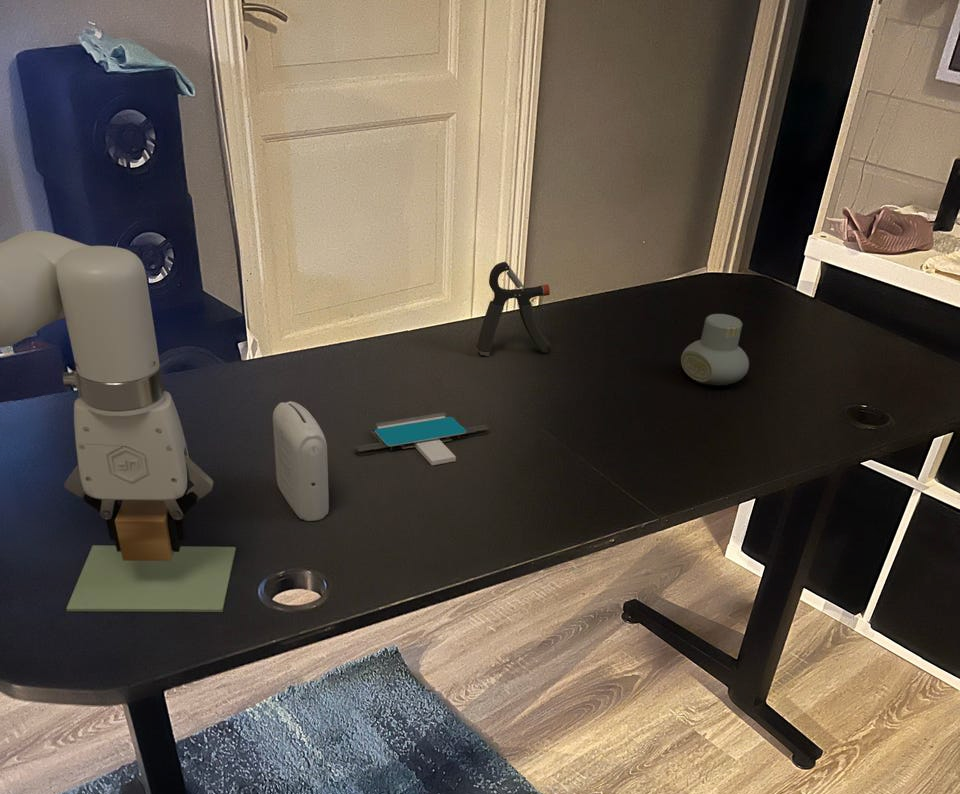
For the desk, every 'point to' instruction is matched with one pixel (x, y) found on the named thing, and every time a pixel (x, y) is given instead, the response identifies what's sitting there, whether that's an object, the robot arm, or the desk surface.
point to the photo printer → (301, 461)
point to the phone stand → (421, 436)
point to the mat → (154, 581)
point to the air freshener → (717, 352)
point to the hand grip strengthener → (499, 302)
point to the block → (144, 531)
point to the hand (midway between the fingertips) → (150, 543)
